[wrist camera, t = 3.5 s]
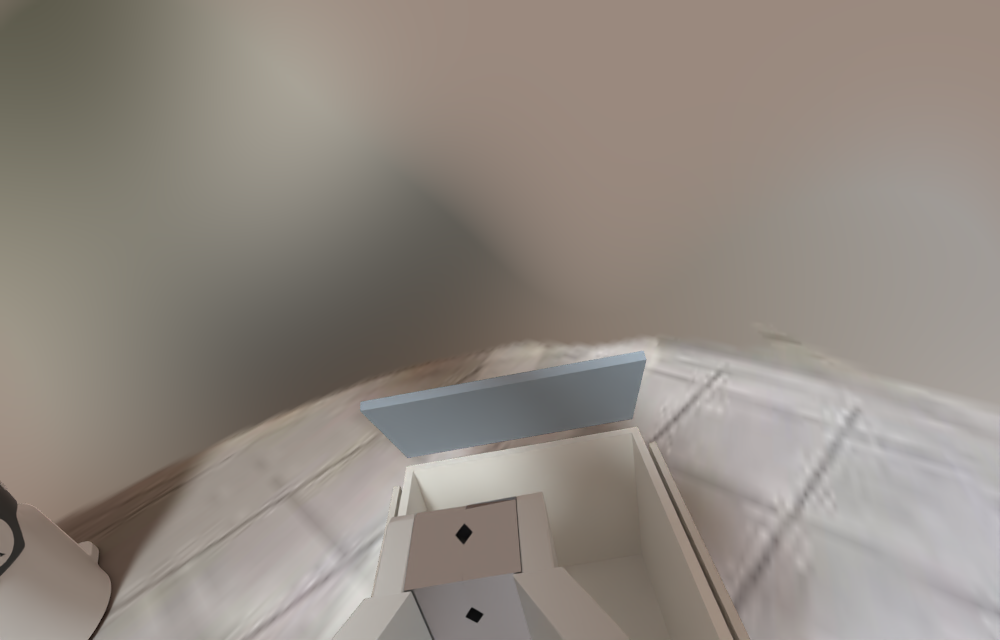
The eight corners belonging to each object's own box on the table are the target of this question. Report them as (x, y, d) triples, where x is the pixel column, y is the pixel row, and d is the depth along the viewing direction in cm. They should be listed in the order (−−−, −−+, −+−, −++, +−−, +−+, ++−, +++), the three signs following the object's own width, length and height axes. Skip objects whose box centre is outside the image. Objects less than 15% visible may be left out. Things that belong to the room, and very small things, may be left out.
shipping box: (416, 927, 22) (325, 817, 17) (441, 584, 37) (396, 468, 32) (778, 881, 21) (805, 751, 16) (655, 550, 36) (647, 424, 31)
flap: (360, 411, 25) (360, 401, 25) (407, 457, 31) (407, 450, 31) (646, 359, 24) (643, 350, 24) (632, 418, 30) (630, 411, 31)
